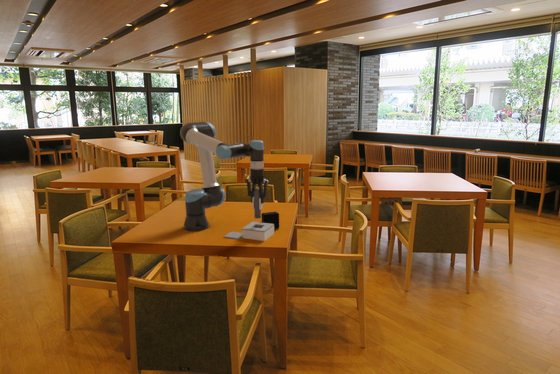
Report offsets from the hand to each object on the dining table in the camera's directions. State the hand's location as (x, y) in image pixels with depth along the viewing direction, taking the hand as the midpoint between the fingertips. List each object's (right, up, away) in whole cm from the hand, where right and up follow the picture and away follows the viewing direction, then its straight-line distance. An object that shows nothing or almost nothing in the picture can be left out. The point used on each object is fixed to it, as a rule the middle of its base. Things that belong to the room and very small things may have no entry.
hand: (257, 208), depth 220 cm
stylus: (0, -5, +1) cm, 5 cm away
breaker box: (0, -16, +3) cm, 16 cm away
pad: (-14, -16, +3) cm, 21 cm away
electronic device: (+7, -14, +16) cm, 22 cm away
